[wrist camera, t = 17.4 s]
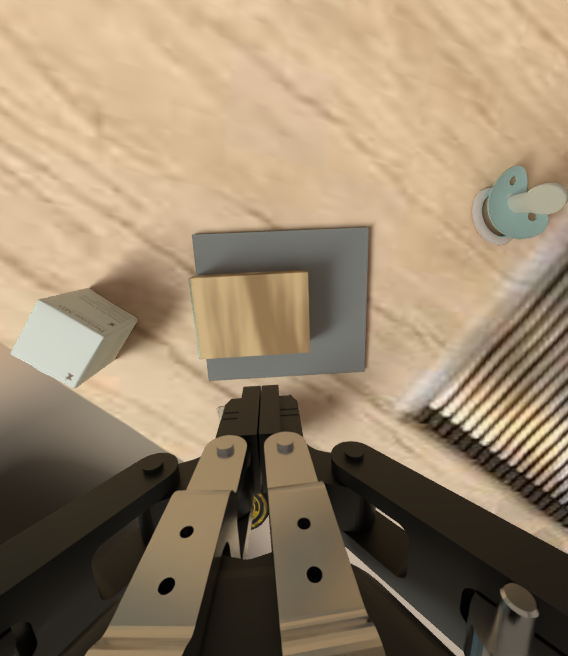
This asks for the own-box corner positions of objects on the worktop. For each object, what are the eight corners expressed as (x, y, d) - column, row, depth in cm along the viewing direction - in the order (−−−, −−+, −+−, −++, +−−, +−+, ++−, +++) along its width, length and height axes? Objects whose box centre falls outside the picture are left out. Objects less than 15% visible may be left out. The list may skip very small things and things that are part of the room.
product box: (140, 318, 33) (106, 338, 26) (114, 361, 34) (74, 391, 27) (88, 286, 32) (36, 297, 25) (62, 332, 33) (6, 355, 26)
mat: (366, 227, 32) (368, 227, 31) (362, 369, 36) (364, 371, 35) (193, 234, 31) (191, 234, 30) (209, 378, 35) (208, 380, 35)
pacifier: (489, 257, 33) (539, 221, 32) (536, 261, 27) (598, 217, 26) (456, 202, 32) (507, 162, 31) (498, 193, 26) (563, 143, 25)
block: (308, 272, 28) (188, 278, 28) (310, 352, 31) (199, 359, 30) (303, 269, 32) (197, 275, 31) (306, 341, 34) (206, 348, 34)
